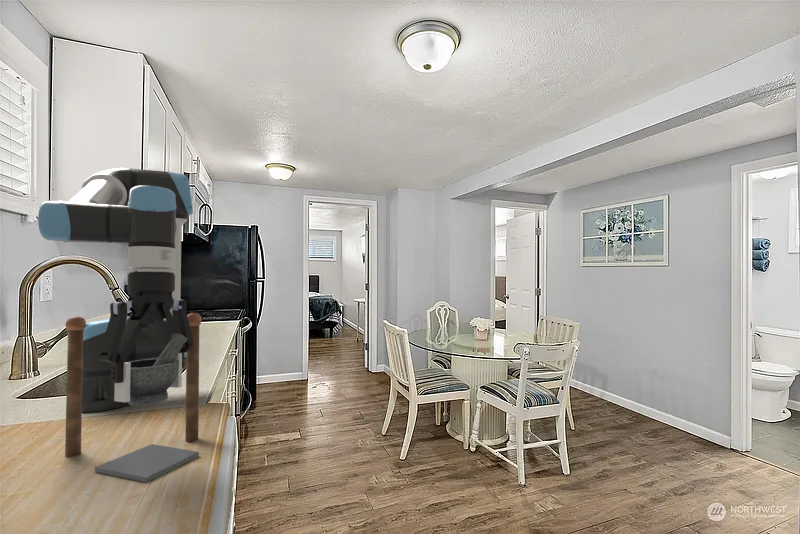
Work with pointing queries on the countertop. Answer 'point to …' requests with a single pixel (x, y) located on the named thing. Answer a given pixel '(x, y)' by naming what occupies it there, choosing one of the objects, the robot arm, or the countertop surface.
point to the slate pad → (147, 462)
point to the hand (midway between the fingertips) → (150, 393)
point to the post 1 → (74, 385)
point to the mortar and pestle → (155, 374)
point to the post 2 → (192, 380)
